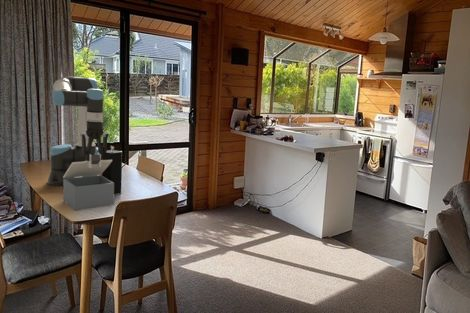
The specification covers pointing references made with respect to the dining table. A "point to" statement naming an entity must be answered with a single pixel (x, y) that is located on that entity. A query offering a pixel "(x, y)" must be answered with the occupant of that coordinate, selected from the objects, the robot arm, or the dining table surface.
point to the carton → (88, 192)
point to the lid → (82, 167)
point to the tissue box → (114, 168)
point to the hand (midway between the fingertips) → (94, 166)
